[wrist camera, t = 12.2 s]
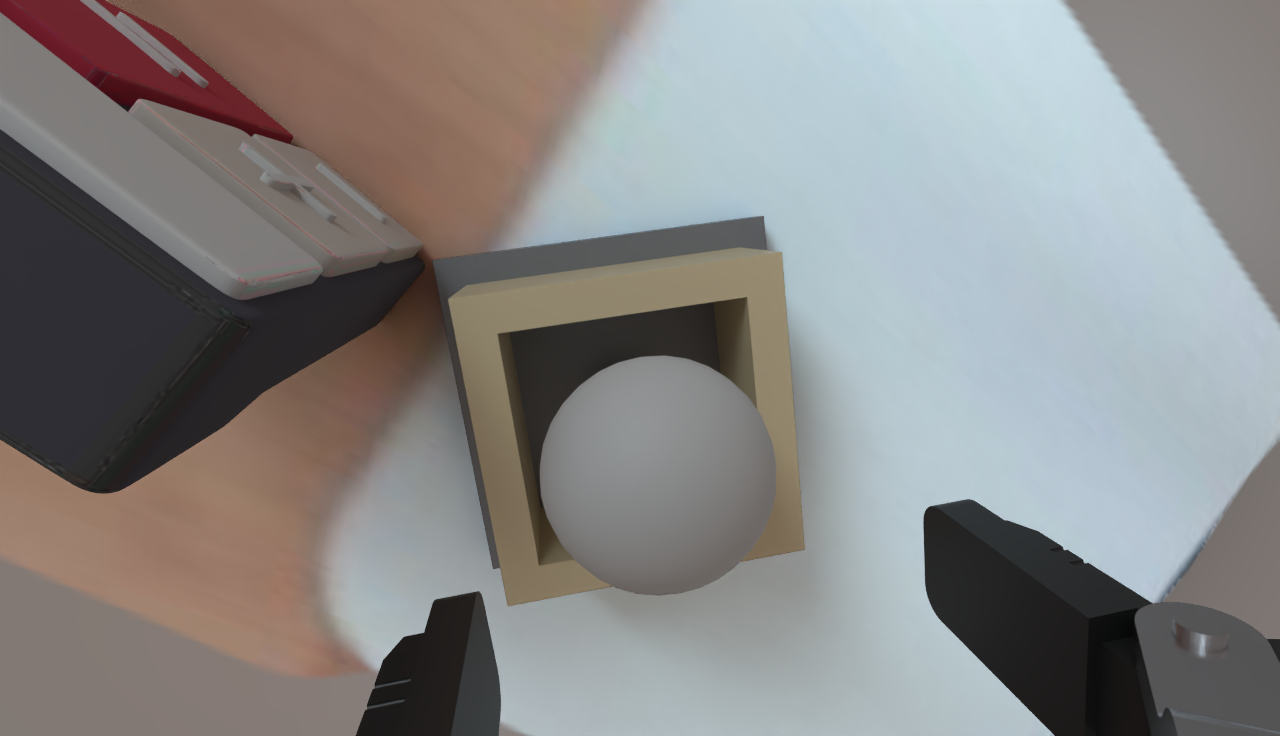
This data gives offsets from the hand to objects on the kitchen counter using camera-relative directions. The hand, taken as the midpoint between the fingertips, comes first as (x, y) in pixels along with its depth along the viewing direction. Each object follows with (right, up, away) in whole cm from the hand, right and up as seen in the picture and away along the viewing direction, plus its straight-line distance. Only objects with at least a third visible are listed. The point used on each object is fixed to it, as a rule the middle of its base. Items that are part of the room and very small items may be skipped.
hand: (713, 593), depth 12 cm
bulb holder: (-2, +3, +14) cm, 15 cm away
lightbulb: (-2, +3, +14) cm, 14 cm away
